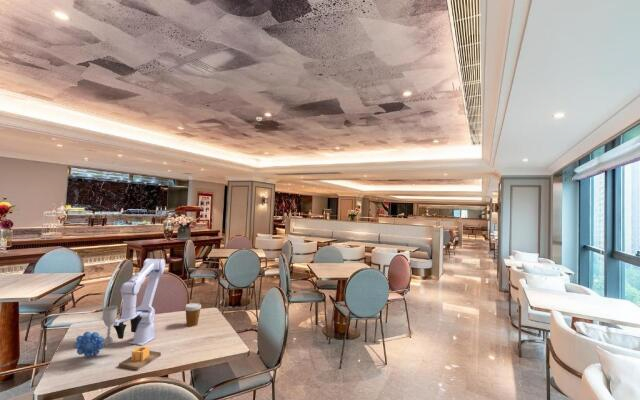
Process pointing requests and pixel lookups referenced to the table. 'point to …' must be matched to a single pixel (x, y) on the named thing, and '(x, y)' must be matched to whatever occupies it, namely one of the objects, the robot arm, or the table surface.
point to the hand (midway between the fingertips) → (127, 335)
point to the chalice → (109, 321)
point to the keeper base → (139, 364)
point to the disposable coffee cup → (192, 313)
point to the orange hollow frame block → (140, 353)
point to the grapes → (89, 344)
